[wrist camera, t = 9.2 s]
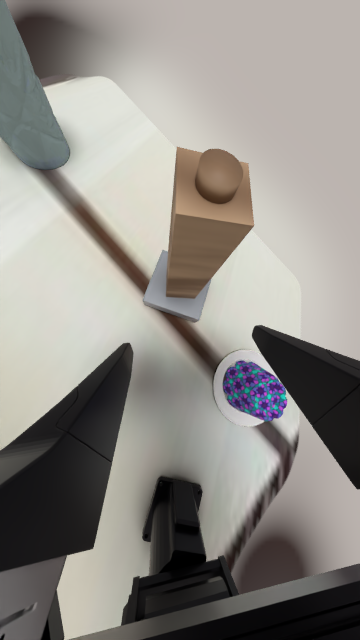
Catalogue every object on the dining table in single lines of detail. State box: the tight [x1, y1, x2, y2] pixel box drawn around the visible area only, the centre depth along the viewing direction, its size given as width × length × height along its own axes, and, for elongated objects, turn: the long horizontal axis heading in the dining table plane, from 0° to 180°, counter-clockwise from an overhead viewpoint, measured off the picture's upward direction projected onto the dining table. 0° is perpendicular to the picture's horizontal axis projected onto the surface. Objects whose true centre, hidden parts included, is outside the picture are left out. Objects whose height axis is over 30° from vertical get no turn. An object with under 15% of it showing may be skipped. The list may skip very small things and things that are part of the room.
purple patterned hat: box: [213, 349, 287, 427], centre depth 19 cm, size 12×12×5 cm
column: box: [166, 147, 254, 299], centre depth 13 cm, size 4×4×14 cm
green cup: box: [0, 0, 70, 170], centre depth 17 cm, size 10×10×12 cm
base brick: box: [143, 250, 211, 322], centre depth 21 cm, size 9×9×2 cm
